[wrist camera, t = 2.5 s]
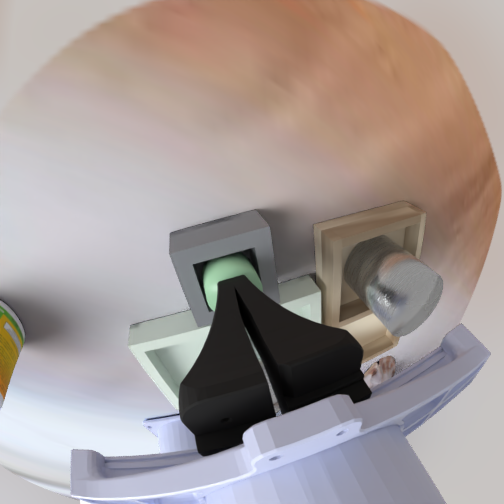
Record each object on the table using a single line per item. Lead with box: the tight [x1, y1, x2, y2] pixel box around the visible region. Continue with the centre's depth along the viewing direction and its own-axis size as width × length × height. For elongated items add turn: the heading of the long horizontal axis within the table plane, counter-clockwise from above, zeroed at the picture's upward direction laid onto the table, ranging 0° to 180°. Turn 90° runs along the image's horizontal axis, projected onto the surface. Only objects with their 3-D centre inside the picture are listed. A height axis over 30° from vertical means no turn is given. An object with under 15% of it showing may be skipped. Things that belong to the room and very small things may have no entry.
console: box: [169, 210, 281, 327], centre depth 15 cm, size 5×5×2 cm
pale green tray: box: [128, 275, 321, 410], centre depth 19 cm, size 9×13×2 cm
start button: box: [202, 252, 263, 312], centre depth 14 cm, size 3×3×2 cm
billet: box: [344, 235, 443, 337], centre depth 16 cm, size 5×5×6 cm
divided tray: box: [313, 201, 427, 364], centre depth 20 cm, size 14×8×2 cm, turn 10°
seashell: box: [364, 356, 396, 389], centre depth 27 cm, size 10×12×9 cm
